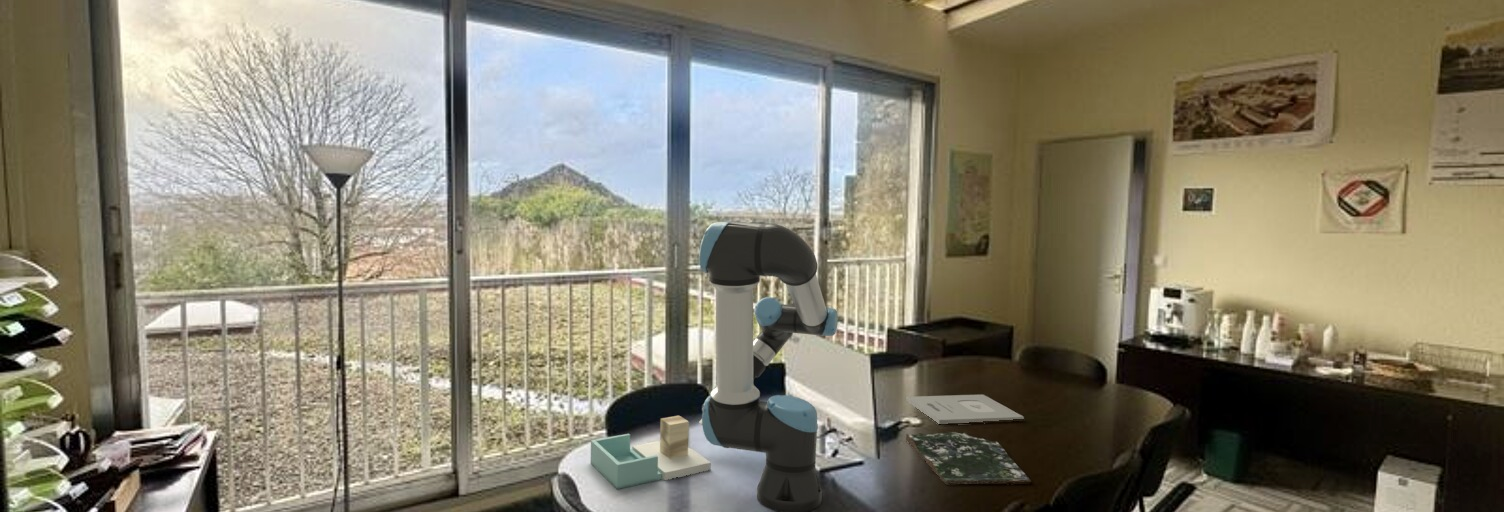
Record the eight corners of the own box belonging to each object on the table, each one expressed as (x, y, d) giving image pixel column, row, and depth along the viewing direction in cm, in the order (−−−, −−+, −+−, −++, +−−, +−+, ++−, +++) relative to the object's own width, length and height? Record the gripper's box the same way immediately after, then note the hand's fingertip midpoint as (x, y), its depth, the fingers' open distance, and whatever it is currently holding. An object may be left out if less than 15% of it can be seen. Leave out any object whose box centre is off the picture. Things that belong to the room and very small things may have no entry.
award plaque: (906, 402, 235) (906, 396, 234) (982, 400, 241) (983, 394, 240) (939, 426, 211) (939, 419, 210) (1023, 423, 217) (1023, 416, 216)
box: (661, 479, 163) (661, 455, 163) (617, 489, 157) (617, 464, 156) (631, 454, 178) (632, 433, 178) (590, 462, 172) (590, 440, 171)
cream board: (710, 470, 170) (710, 462, 170) (664, 480, 163) (664, 472, 163) (675, 444, 187) (675, 437, 186) (632, 453, 179) (632, 445, 179)
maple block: (688, 454, 174) (688, 421, 173) (669, 458, 171) (669, 424, 170) (678, 447, 179) (679, 415, 178) (659, 451, 176) (660, 418, 175)
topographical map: (945, 487, 166) (946, 475, 165) (903, 439, 198) (903, 429, 198) (1043, 486, 168) (1044, 474, 168) (985, 439, 201) (986, 429, 201)
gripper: (776, 372, 184) (723, 441, 176) (751, 361, 195) (699, 426, 187) (761, 355, 180) (706, 425, 173) (736, 345, 191) (683, 410, 184)
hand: (703, 425), depth 180 cm, fingers closed
